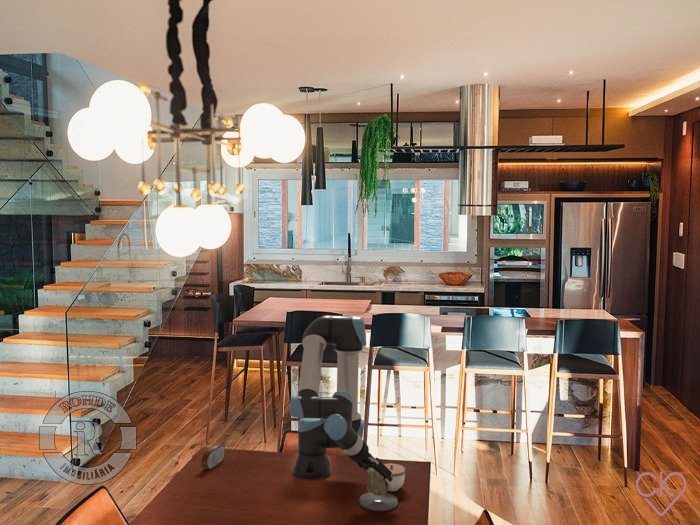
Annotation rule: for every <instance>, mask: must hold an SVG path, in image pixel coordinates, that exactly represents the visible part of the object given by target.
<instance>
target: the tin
mask: <svg viewBox="0 0 700 525" xmlns="http://www.w3.org/2000/svg"><path fill="white" fill-rule="evenodd" d="M225 456H226V446H225V444H223V443H220V442H216V443H215V444H214V445H212V446H210V447H207V449H205V451H204V452H203V455H202V458H201V467H202V469H205V470H212V469H213V468H215V467H217V466H218V465H220V464H221V463H222V462H223V461H224V458H225Z"/></svg>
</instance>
